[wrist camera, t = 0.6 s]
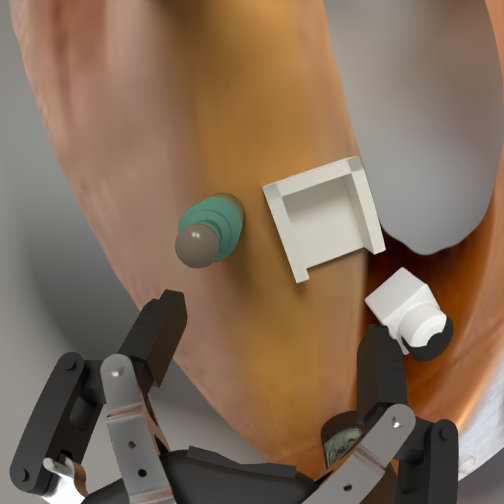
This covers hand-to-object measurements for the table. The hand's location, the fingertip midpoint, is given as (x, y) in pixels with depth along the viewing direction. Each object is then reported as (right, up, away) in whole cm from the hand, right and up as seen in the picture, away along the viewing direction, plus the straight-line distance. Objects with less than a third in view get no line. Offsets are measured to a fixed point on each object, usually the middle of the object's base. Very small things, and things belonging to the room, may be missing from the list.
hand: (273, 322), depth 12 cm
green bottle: (-4, +7, +23) cm, 25 cm away
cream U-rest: (+7, +7, +23) cm, 25 cm away
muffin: (+60, -56, +39) cm, 91 cm away
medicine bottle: (+19, -4, +26) cm, 33 cm away
